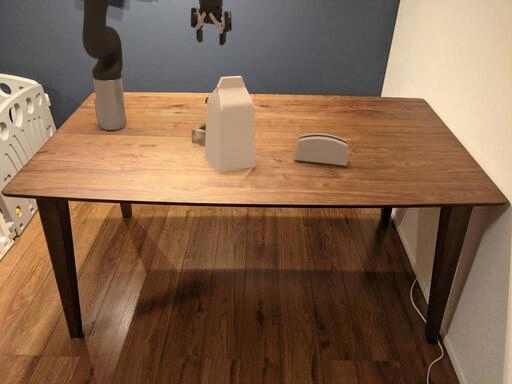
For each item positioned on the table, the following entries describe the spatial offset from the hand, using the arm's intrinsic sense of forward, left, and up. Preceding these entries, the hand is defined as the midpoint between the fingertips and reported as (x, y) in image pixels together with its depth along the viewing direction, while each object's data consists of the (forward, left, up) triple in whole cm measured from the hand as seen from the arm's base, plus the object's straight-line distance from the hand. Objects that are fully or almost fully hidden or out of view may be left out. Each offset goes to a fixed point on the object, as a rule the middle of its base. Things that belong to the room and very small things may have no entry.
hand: (210, 43), depth 134 cm
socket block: (+7, -9, -30) cm, 32 cm away
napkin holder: (+44, -5, -31) cm, 54 cm away
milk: (+20, -21, -30) cm, 42 cm away
